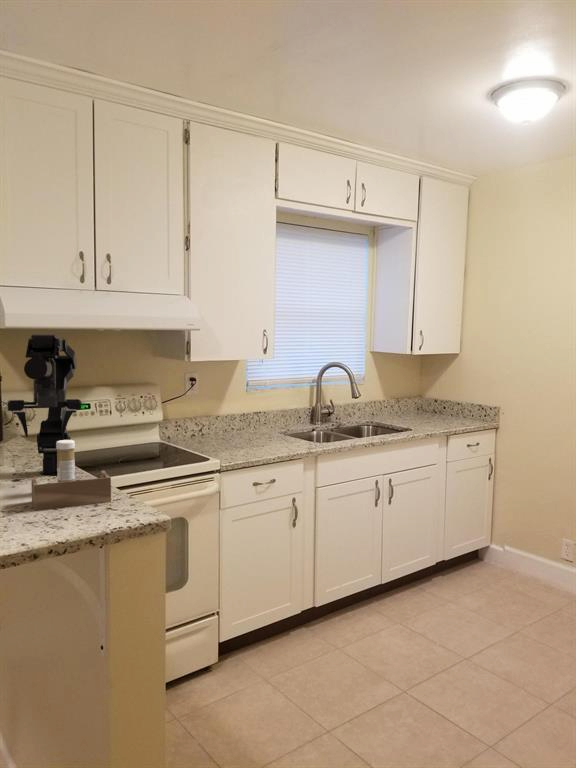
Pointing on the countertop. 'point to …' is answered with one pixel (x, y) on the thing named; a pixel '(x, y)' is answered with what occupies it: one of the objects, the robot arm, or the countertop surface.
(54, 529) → the countertop surface
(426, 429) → the countertop surface
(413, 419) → the countertop surface
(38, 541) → the countertop surface
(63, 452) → the sprinkles bottle
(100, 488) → the walnut crate
